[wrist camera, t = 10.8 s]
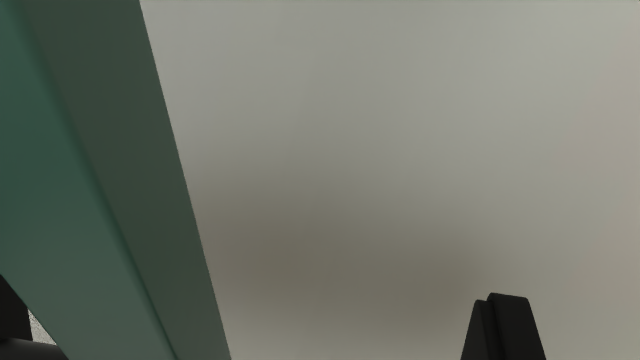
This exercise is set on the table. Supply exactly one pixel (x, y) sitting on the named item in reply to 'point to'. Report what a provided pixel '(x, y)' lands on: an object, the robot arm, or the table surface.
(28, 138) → the lever
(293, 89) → the table surface
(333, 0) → the table surface
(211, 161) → the table surface
